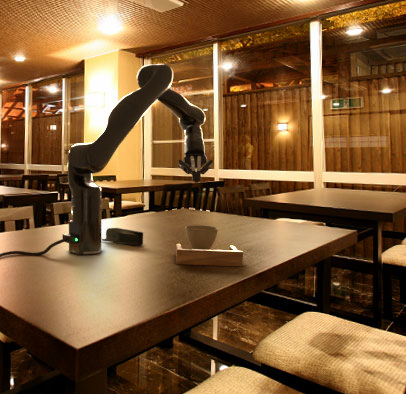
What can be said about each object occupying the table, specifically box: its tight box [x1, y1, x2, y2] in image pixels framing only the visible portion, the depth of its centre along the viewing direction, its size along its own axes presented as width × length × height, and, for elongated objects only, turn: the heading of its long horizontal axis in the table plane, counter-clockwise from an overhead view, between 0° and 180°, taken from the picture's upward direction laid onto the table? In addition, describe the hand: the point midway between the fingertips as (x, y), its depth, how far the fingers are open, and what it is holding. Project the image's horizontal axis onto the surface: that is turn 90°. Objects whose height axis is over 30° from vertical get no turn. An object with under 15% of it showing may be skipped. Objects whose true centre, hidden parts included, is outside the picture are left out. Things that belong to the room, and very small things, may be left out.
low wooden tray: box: [175, 243, 244, 267], centre depth 111 cm, size 10×17×4 cm, turn 82°
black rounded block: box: [101, 227, 144, 247], centre depth 135 cm, size 5×3×15 cm
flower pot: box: [184, 224, 219, 250], centre depth 125 cm, size 10×10×7 cm
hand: (196, 181), depth 140 cm, fingers closed
